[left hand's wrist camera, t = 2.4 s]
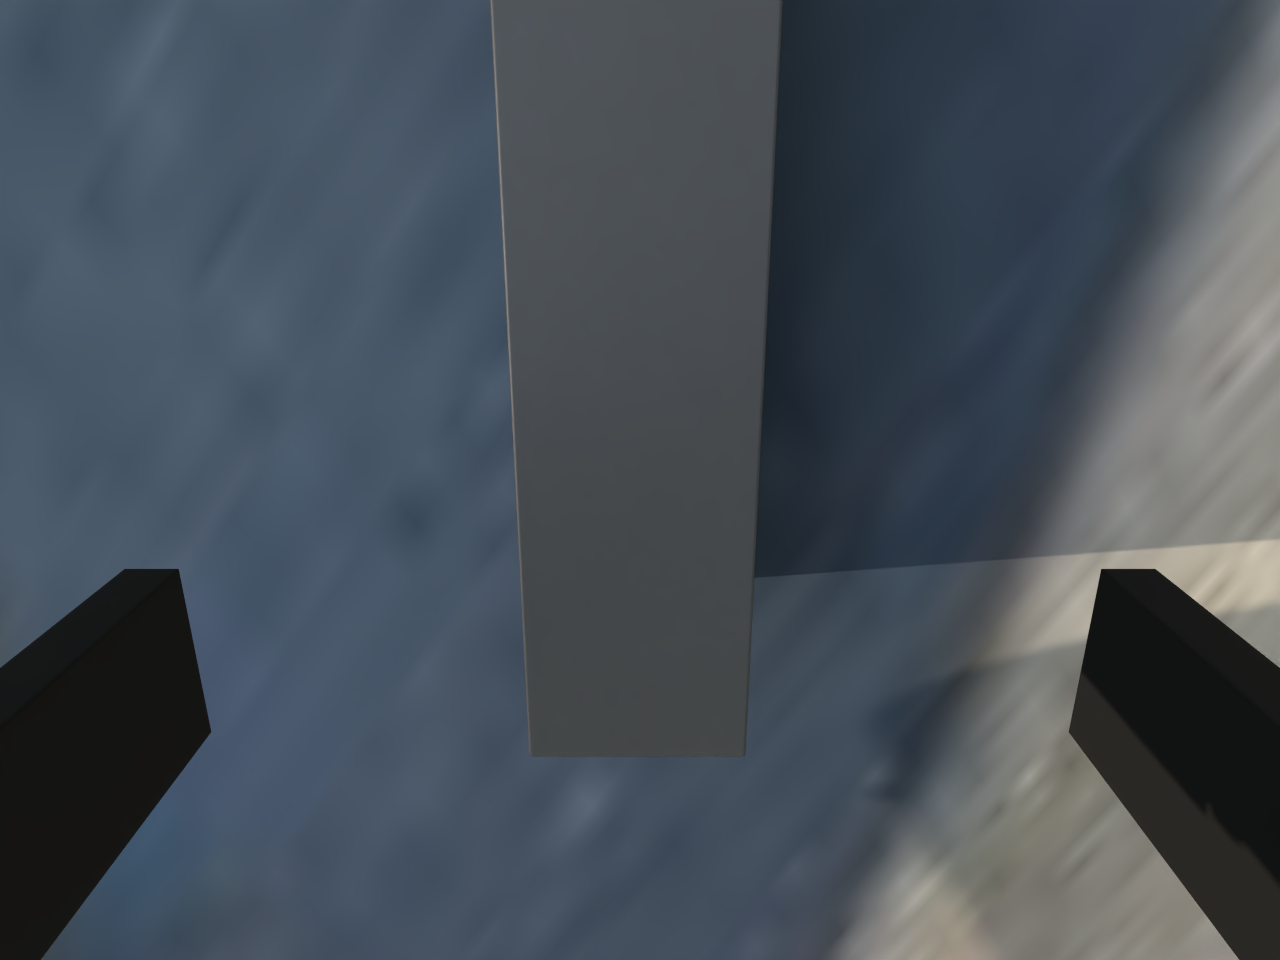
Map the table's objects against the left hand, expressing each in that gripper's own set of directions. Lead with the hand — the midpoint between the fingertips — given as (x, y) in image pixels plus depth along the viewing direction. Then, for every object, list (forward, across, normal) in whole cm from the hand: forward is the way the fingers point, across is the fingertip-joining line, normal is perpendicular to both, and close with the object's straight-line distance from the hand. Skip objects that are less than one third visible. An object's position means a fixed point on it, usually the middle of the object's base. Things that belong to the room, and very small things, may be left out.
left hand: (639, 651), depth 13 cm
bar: (+12, 0, -36) cm, 38 cm away
